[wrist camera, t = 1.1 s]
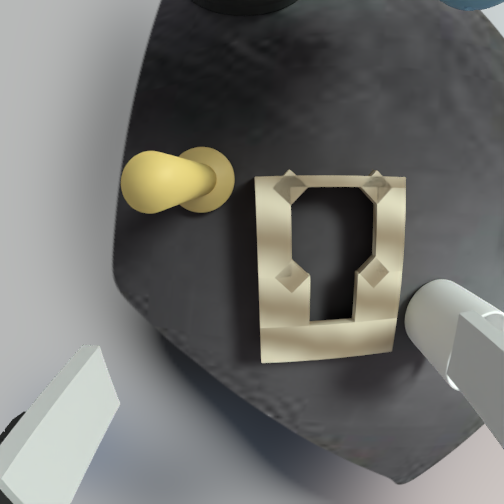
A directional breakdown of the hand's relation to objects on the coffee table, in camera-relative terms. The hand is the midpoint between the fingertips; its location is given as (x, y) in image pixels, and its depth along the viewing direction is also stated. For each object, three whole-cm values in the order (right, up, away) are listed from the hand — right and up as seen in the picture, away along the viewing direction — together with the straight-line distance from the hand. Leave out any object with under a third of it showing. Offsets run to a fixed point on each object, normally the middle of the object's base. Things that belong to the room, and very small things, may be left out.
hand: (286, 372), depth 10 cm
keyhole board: (+6, +3, +22) cm, 23 cm away
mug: (+21, -5, +24) cm, 32 cm away
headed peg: (-6, +11, +20) cm, 24 cm away
